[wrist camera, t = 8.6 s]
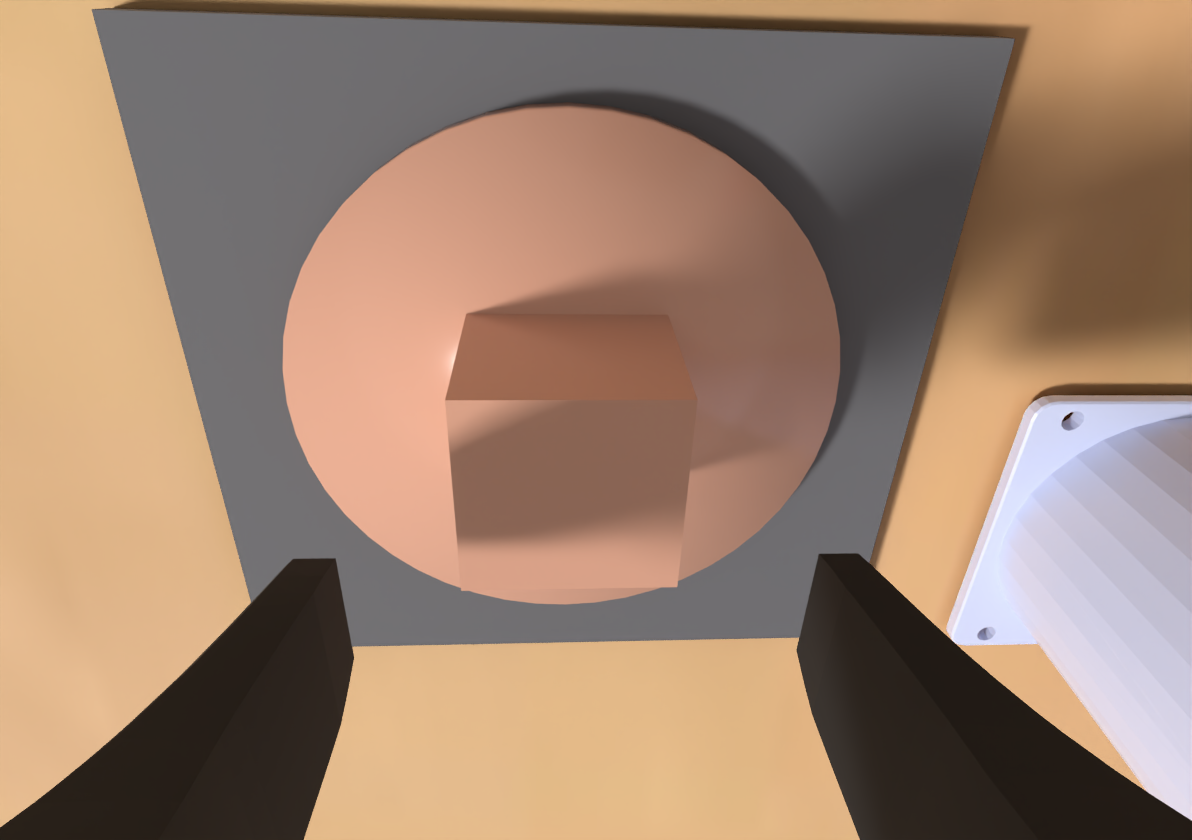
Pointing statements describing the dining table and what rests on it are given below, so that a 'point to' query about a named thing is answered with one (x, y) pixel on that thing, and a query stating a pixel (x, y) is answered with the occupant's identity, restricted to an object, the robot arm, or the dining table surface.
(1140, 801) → the robot arm
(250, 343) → the mat
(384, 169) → the lid
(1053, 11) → the dining table surface
